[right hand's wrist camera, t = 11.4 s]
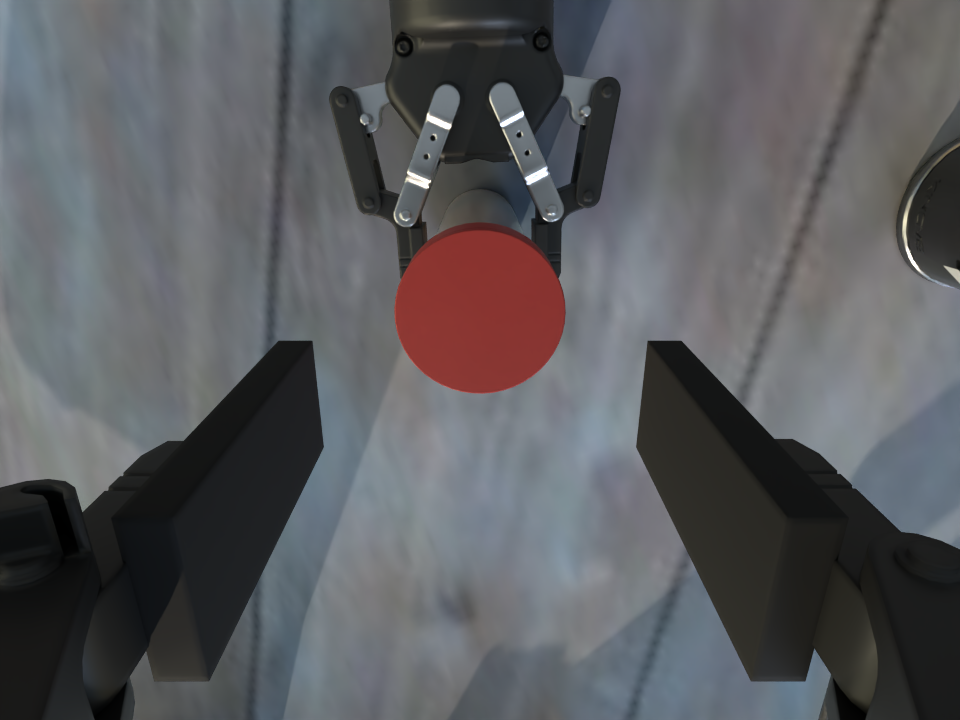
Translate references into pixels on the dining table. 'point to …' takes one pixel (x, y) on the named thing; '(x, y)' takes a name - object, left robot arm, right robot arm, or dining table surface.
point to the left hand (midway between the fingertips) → (481, 290)
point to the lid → (480, 308)
